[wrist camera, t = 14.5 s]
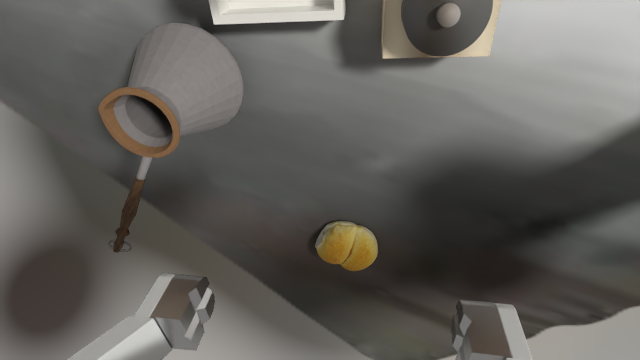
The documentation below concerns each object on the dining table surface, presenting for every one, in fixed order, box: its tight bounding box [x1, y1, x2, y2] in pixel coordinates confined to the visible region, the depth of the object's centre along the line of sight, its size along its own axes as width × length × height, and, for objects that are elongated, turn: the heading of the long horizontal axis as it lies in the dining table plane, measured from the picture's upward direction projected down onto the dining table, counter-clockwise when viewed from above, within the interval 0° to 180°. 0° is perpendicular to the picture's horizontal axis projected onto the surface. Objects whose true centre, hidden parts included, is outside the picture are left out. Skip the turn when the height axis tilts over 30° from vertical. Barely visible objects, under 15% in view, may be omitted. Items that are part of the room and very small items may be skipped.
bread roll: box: [315, 221, 378, 271], centre depth 51 cm, size 8×9×4 cm
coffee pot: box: [98, 23, 244, 252], centre depth 36 cm, size 21×12×15 cm, turn 156°
